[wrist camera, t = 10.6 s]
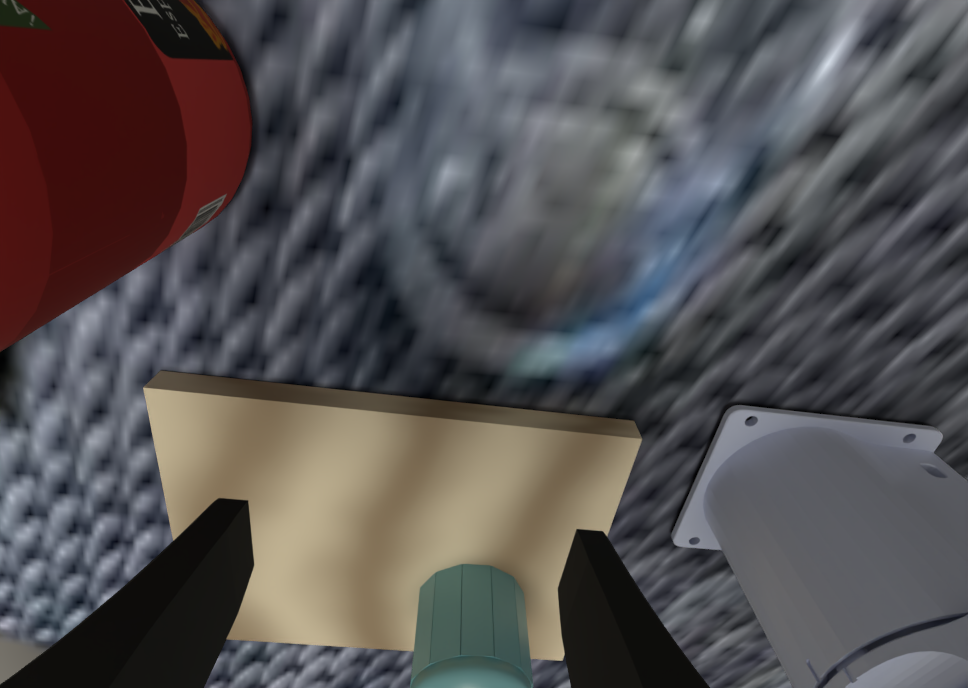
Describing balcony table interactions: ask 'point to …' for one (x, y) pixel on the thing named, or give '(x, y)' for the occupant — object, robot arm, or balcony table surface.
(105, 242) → the canned food
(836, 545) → the robot arm
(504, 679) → the teal cap
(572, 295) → the balcony table surface
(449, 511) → the birch board
